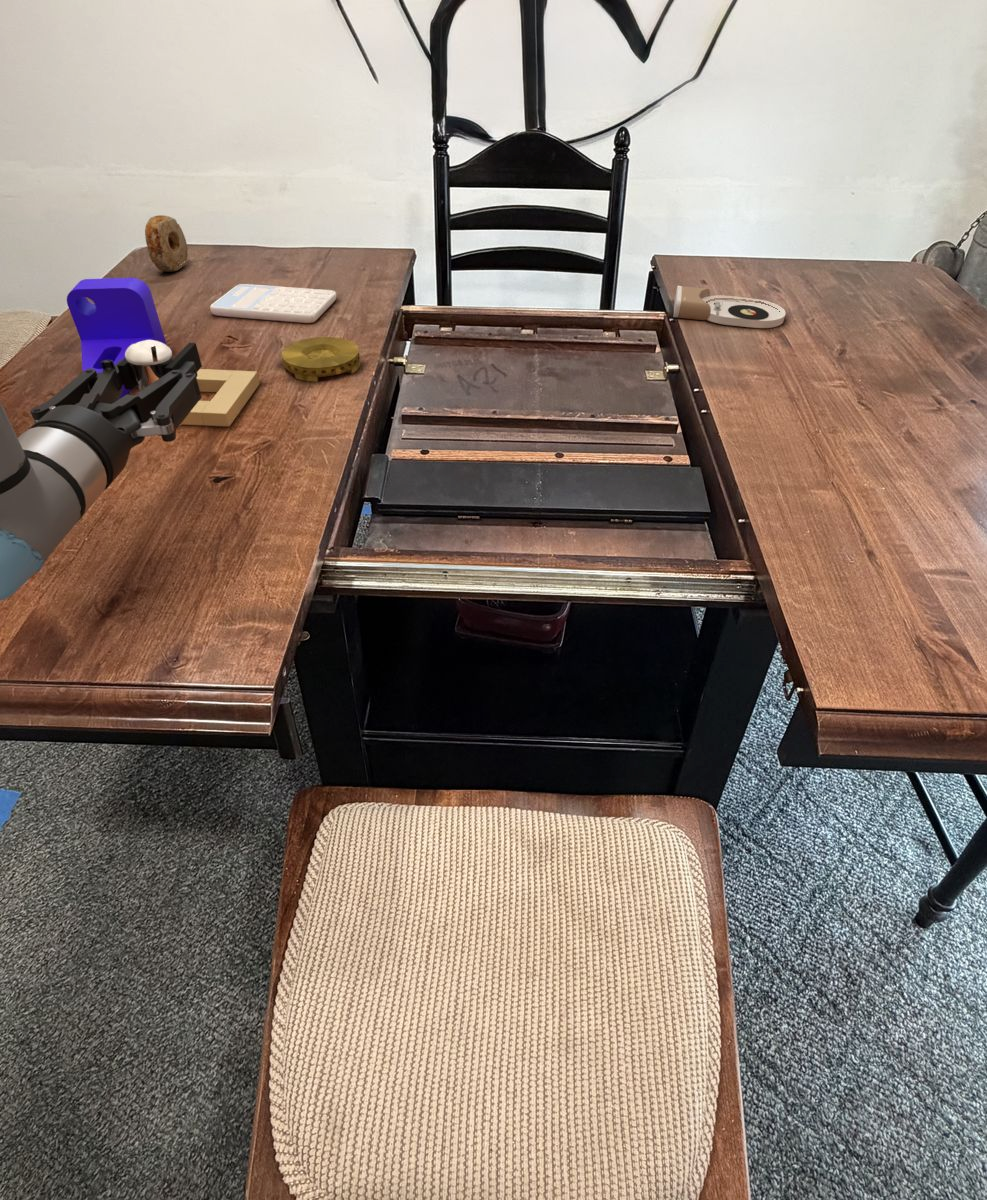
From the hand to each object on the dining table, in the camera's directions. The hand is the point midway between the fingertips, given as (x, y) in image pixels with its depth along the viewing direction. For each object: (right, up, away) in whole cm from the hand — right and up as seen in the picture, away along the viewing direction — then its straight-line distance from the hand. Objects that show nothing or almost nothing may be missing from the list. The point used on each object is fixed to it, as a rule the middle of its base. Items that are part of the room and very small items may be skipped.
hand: (172, 353), depth 80 cm
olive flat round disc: (+9, +10, +34) cm, 36 cm away
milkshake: (0, -8, 0) cm, 8 cm away
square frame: (-7, +1, +24) cm, 25 cm away
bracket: (-21, +6, +29) cm, 37 cm away
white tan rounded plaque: (+80, +26, +53) cm, 99 cm away
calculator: (-5, +27, +53) cm, 59 cm away
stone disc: (-30, +41, +68) cm, 85 cm away
